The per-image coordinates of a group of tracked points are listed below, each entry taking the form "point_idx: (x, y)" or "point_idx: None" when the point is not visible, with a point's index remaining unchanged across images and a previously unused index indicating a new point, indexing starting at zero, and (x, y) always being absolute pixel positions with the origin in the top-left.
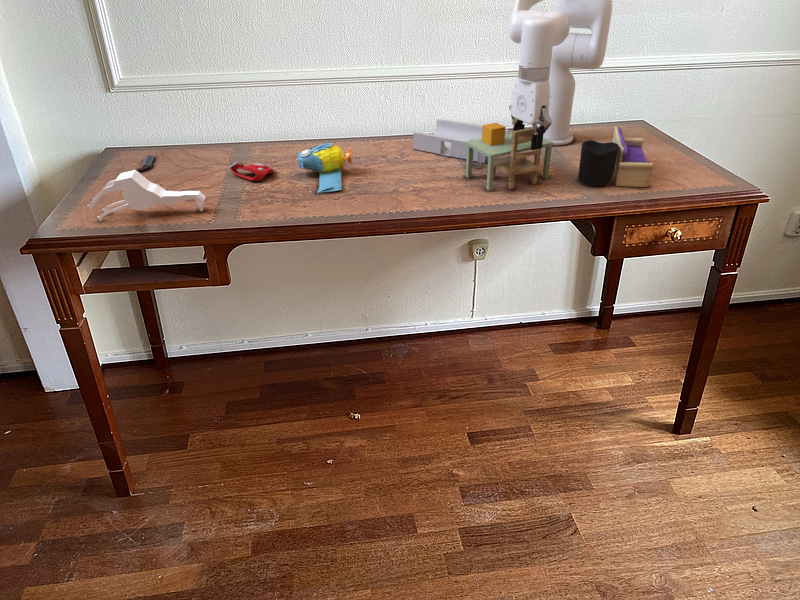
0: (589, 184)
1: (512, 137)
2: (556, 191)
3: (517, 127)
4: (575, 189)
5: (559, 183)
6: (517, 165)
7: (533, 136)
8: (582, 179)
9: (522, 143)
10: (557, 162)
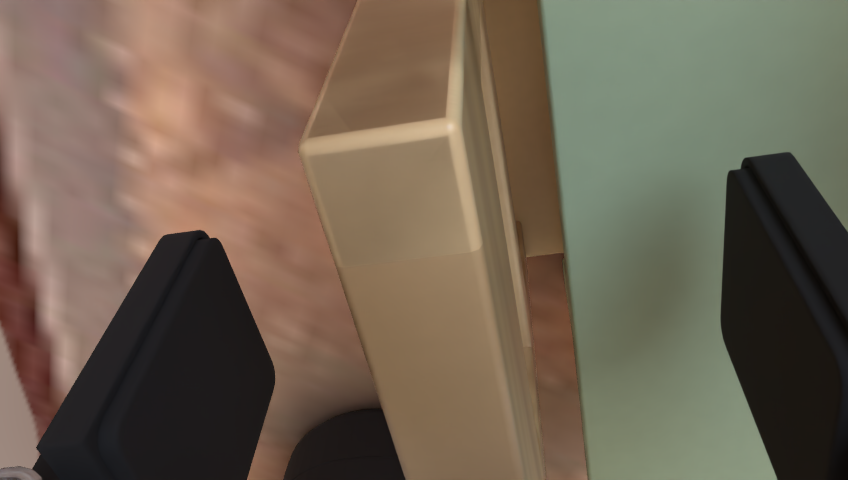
0: (316, 429)
1: (426, 44)
2: (290, 219)
3: (829, 409)
4: (296, 338)
5: None
6: None
7: (64, 423)
8: (363, 429)
9: None
10: None
